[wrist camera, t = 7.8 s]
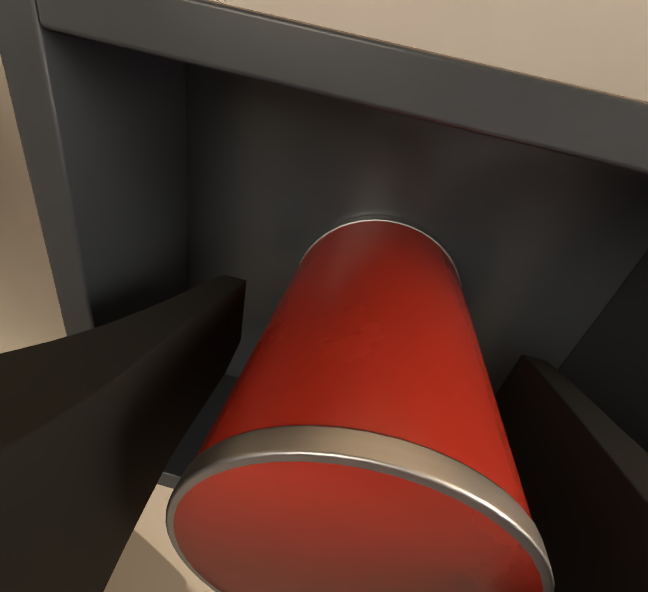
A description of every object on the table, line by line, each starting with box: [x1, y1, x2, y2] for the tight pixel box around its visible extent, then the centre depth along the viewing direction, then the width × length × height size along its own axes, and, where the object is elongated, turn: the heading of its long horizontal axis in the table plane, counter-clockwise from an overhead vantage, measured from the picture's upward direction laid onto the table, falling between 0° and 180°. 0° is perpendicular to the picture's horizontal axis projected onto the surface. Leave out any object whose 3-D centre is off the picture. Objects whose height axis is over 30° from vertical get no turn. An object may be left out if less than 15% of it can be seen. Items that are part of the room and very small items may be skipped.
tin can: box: [166, 215, 555, 592], centre depth 8 cm, size 5×5×8 cm
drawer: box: [0, 0, 648, 489], centre depth 10 cm, size 15×13×5 cm
